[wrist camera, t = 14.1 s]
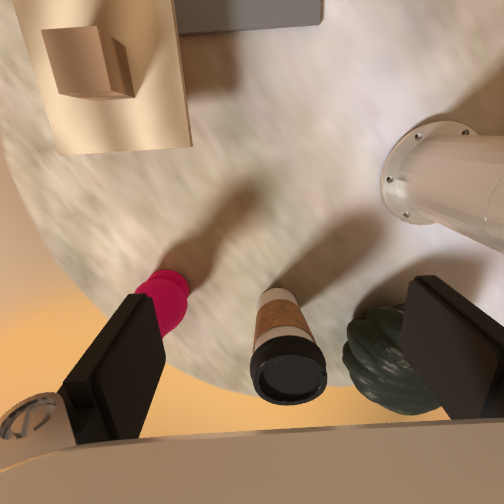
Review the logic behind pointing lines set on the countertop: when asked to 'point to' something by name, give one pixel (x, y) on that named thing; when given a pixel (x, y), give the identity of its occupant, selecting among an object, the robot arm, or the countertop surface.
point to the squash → (385, 363)
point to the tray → (244, 15)
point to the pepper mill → (167, 298)
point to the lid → (108, 73)
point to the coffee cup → (285, 352)
